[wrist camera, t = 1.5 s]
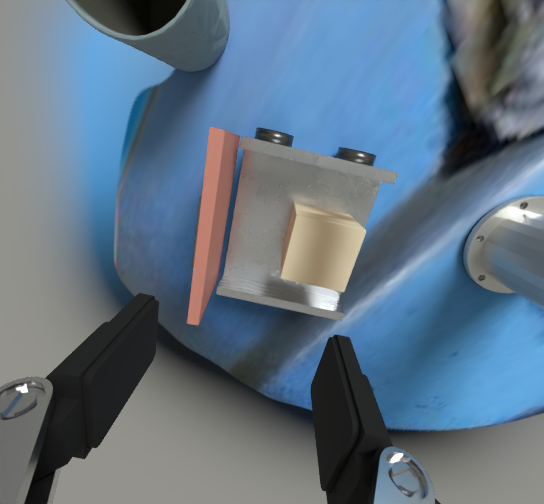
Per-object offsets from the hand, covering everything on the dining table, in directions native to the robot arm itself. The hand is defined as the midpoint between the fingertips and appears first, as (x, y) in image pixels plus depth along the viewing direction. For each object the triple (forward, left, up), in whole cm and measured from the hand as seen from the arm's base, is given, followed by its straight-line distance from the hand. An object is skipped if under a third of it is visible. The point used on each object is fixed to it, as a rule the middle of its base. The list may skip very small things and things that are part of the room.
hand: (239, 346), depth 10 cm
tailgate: (+5, 0, -19) cm, 20 cm away
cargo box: (-5, 0, -19) cm, 19 cm away
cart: (-3, 0, -24) cm, 24 cm away
